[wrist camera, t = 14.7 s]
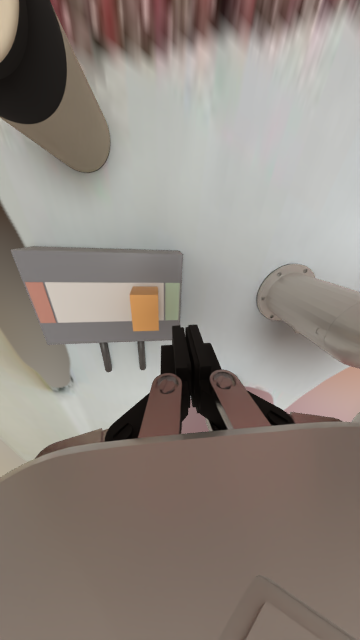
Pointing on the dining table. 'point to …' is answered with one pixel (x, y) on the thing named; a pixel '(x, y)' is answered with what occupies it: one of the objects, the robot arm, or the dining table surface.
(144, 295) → the knob
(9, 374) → the dining table surface
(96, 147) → the travel mug
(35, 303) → the box
